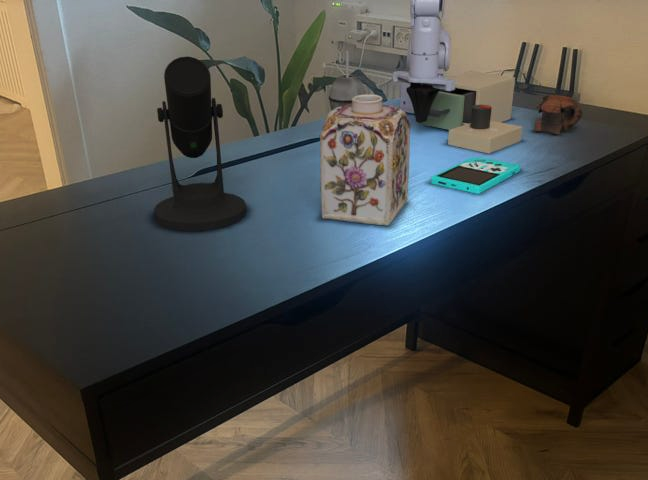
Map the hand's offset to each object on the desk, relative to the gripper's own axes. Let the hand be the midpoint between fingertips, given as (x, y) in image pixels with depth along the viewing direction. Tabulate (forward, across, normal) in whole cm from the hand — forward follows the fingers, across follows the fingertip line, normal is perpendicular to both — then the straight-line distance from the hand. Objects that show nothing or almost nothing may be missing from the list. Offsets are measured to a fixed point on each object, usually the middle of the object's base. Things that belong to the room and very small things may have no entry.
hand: (421, 121), depth 156 cm
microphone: (+3, +1, -60) cm, 60 cm away
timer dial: (0, +11, +5) cm, 12 cm away
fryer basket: (+2, 0, +10) cm, 11 cm away
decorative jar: (+3, +20, -41) cm, 46 cm away
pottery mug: (+4, +19, +24) cm, 31 cm away
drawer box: (+3, 0, +19) cm, 19 cm away
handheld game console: (+3, +24, -14) cm, 28 cm away
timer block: (+3, +12, +6) cm, 14 cm away
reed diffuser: (+4, -2, -21) cm, 21 cm away
